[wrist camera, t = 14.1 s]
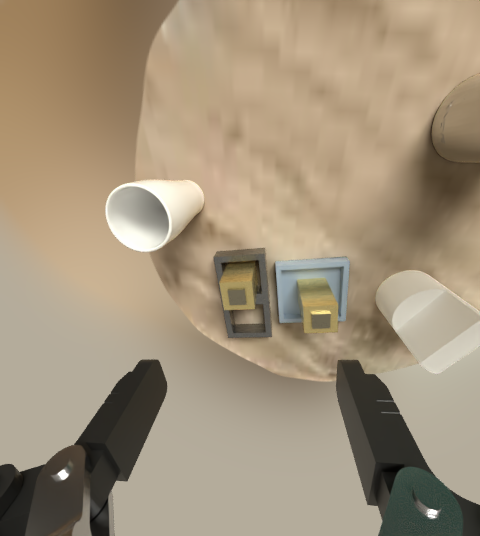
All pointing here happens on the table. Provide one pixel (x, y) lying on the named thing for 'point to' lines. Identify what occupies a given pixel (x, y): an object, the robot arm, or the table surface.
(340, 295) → the parts tray
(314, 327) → the gold square peg
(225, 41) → the table surface
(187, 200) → the white tapered cylinder
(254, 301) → the square peg
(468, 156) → the robot arm
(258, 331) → the frame
